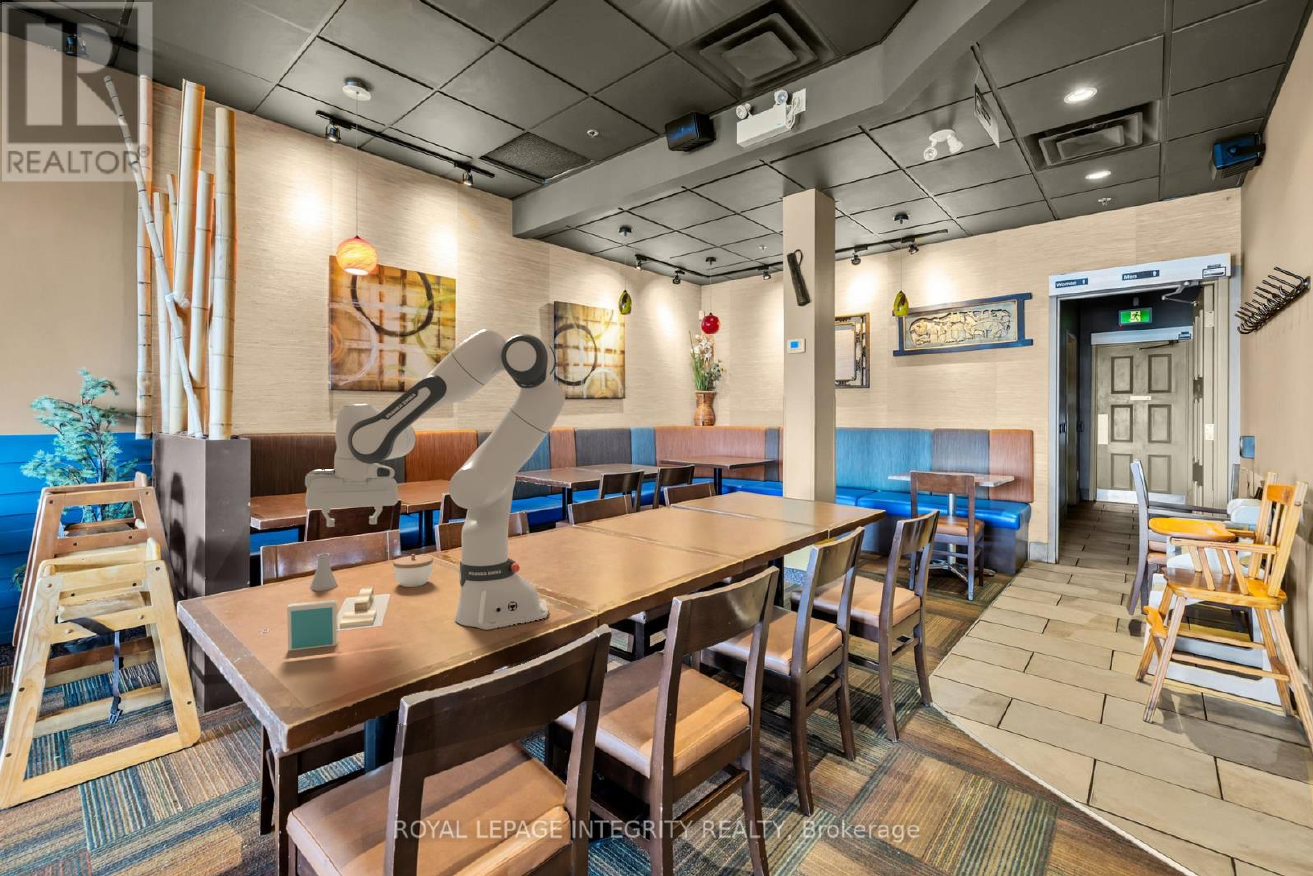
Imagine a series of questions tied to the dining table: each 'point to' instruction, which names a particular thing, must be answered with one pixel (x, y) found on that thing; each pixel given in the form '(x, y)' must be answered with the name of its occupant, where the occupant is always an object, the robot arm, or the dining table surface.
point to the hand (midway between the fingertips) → (352, 525)
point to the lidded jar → (413, 570)
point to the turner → (361, 610)
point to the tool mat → (377, 603)
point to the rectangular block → (312, 624)
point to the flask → (323, 575)
